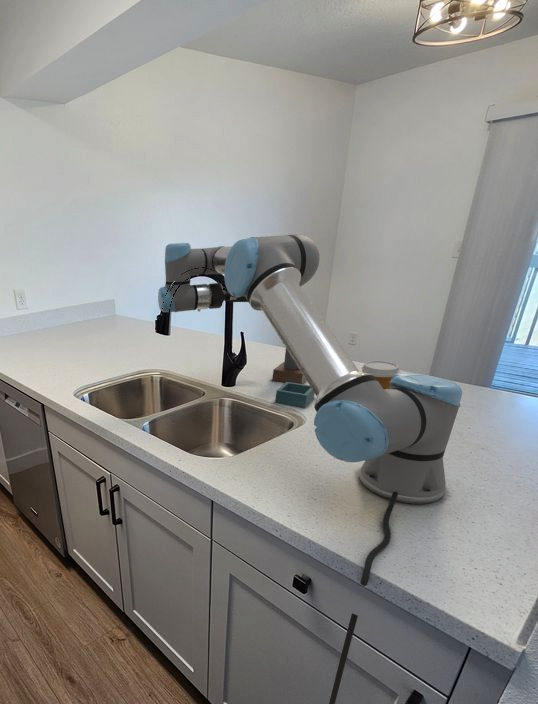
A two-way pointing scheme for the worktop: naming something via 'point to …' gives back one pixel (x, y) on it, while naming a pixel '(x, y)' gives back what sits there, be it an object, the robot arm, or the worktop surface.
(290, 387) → the holder
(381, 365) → the disposable coffee cup
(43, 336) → the worktop surface
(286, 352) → the bottle
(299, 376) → the stand
